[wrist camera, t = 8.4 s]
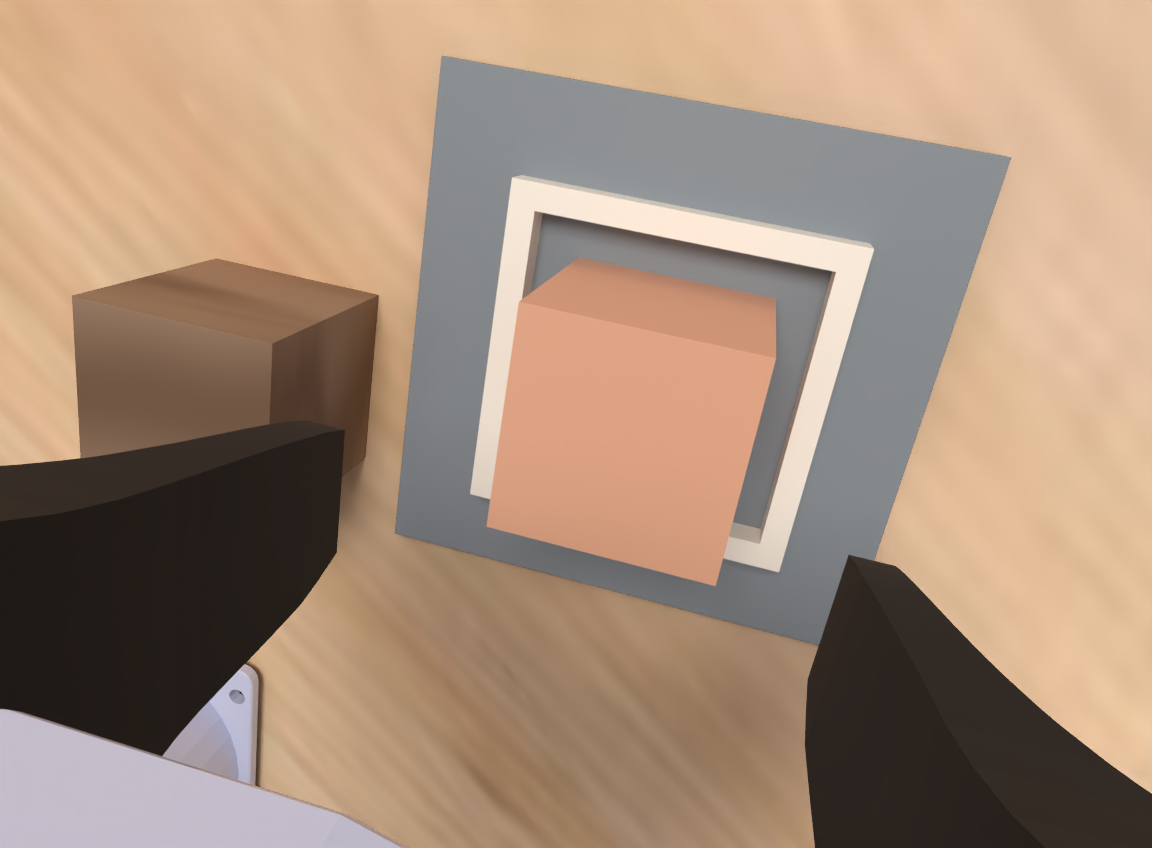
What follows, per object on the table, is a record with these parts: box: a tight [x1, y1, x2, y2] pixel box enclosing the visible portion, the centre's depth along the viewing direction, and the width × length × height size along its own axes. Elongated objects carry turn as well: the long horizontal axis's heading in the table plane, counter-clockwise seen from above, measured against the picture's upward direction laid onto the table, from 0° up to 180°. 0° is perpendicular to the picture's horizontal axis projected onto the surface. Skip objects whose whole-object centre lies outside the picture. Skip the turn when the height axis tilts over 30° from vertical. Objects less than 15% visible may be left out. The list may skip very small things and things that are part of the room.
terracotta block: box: [486, 258, 776, 586], centre depth 18 cm, size 4×4×5 cm
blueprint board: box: [395, 56, 1011, 645], centre depth 20 cm, size 12×12×1 cm
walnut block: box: [72, 259, 379, 476], centre depth 20 cm, size 4×4×5 cm
